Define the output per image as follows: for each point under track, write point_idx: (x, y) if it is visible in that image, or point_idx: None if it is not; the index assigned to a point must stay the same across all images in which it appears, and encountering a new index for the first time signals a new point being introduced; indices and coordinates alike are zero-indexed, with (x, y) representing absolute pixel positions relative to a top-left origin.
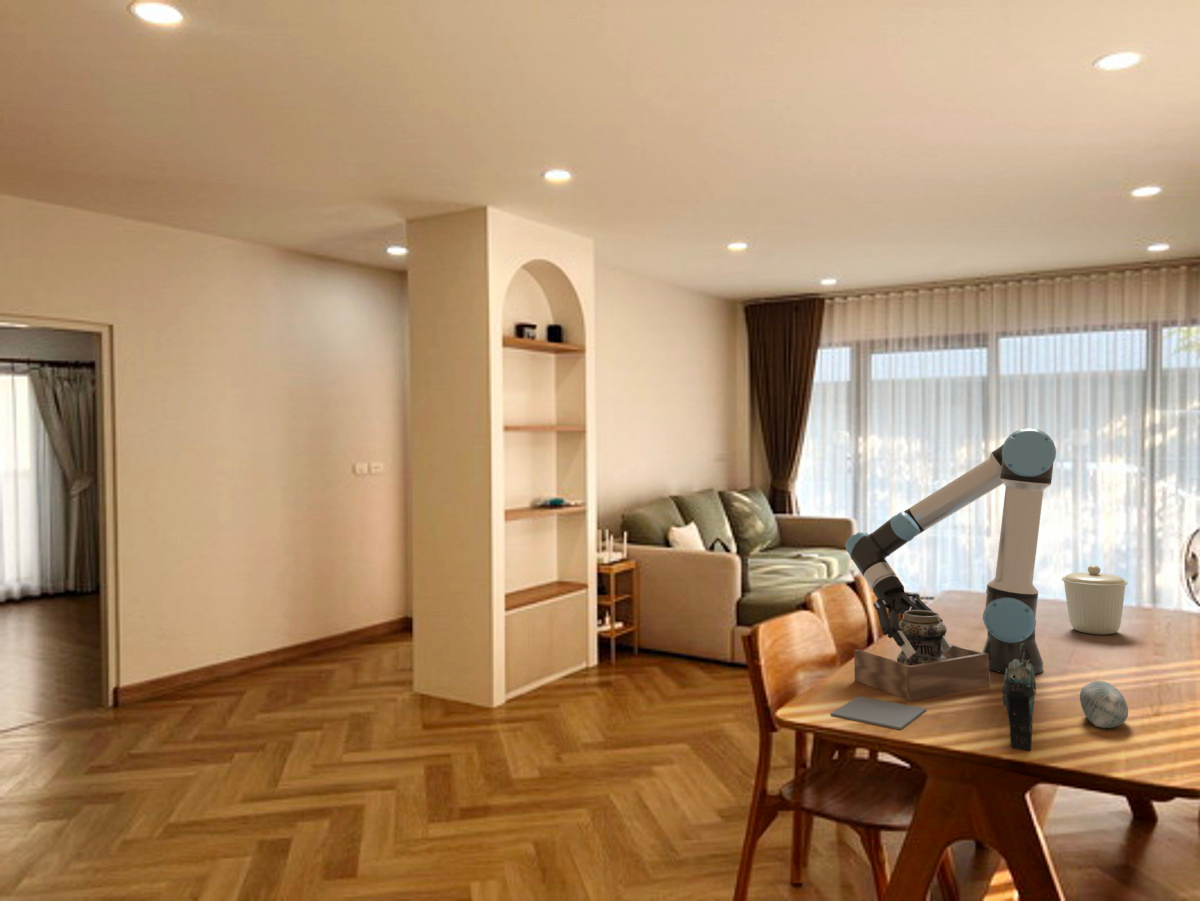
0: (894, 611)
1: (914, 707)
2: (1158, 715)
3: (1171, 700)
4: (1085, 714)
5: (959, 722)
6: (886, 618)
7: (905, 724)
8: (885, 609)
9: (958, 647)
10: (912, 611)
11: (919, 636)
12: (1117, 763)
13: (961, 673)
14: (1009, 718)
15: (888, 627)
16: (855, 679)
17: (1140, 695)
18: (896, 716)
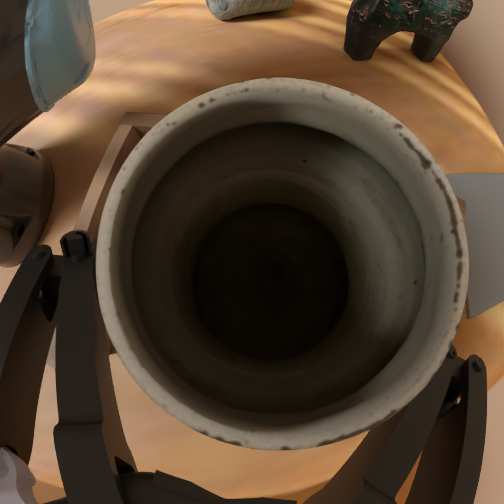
0: (393, 488)
1: None
2: (175, 4)
3: (104, 25)
4: (287, 4)
5: (428, 117)
6: (477, 426)
7: (495, 173)
8: (458, 499)
9: (92, 217)
10: (211, 415)
11: (401, 212)
12: None
13: None
14: (446, 41)
15: (483, 366)
16: None
17: (96, 40)
18: (491, 197)
